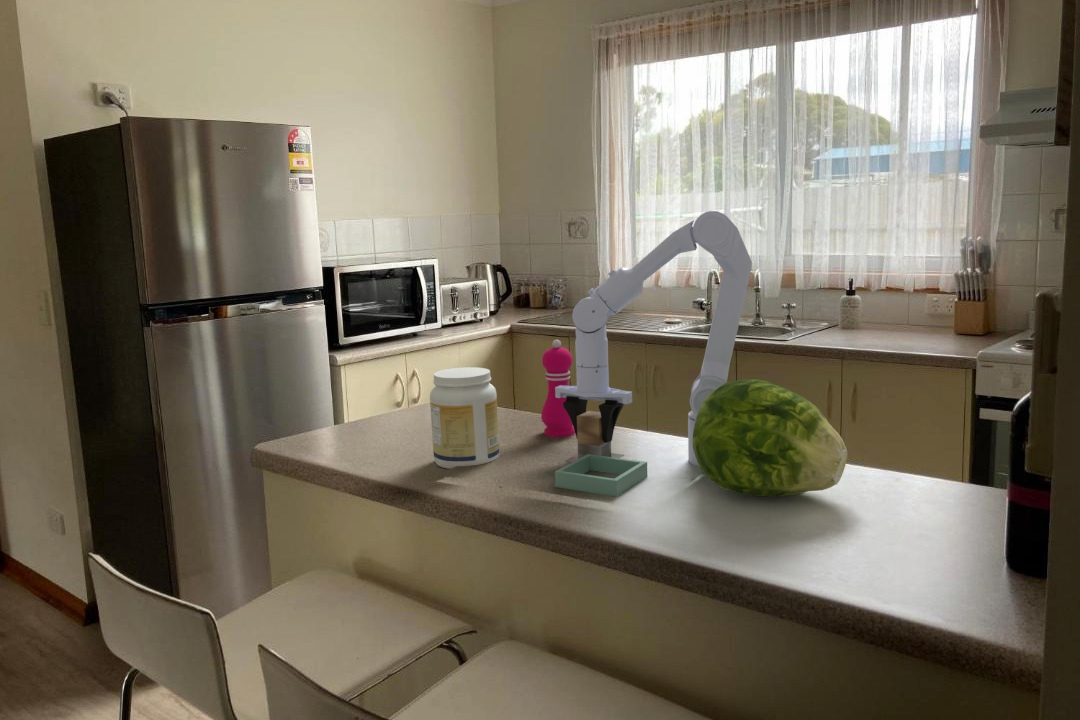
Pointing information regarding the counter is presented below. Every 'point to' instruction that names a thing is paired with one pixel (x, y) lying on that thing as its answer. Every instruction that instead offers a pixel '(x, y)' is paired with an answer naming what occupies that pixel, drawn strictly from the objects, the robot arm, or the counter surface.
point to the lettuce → (766, 441)
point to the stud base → (577, 457)
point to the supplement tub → (464, 417)
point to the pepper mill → (557, 375)
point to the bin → (577, 480)
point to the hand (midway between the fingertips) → (594, 439)
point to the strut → (591, 435)
